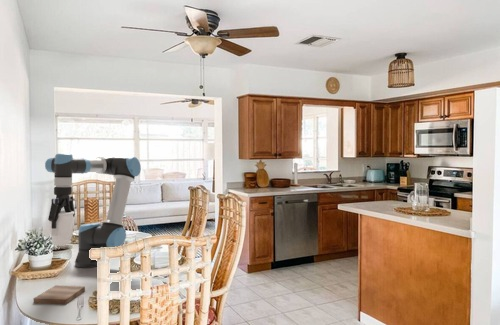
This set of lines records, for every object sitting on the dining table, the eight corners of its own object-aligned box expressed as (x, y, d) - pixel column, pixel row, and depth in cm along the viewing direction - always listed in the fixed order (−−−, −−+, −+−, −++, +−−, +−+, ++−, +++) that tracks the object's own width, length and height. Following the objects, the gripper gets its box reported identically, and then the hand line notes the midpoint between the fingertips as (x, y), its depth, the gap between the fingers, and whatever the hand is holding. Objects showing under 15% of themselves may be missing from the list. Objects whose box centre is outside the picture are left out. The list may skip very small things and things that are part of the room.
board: (55, 289, 174) (55, 285, 174) (84, 290, 173) (84, 286, 173) (33, 302, 158) (33, 298, 158) (65, 304, 157) (65, 299, 157)
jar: (57, 240, 183) (58, 210, 183) (78, 241, 183) (78, 210, 183) (44, 245, 173) (45, 212, 173) (66, 246, 172) (66, 213, 172)
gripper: (69, 184, 190) (68, 228, 189) (39, 187, 167) (38, 237, 167) (83, 185, 189) (82, 229, 189) (55, 188, 166) (54, 238, 166)
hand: (61, 233), depth 178 cm, fingers closed on jar, 10 cm apart
